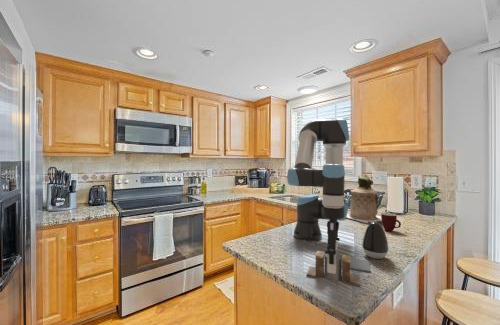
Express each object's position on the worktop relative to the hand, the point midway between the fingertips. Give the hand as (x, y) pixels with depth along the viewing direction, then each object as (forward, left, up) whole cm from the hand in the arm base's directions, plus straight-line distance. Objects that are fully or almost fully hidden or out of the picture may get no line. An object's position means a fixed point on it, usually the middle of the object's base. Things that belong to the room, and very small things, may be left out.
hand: (332, 264), depth 85 cm
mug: (+29, +75, -4) cm, 81 cm away
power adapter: (0, 0, -4) cm, 4 cm away
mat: (+7, +14, -4) cm, 16 cm away
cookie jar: (+15, +104, -5) cm, 105 cm away
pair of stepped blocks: (0, 0, -4) cm, 4 cm away
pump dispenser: (+16, +27, -4) cm, 32 cm away
